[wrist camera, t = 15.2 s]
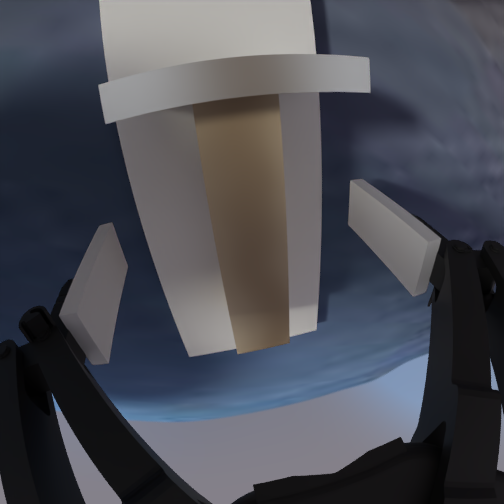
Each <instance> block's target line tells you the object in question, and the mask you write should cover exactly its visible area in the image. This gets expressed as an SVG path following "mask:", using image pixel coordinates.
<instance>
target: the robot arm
mask: <svg viewBox="0 0 504 504" xmlns="http://www.w3.org/2000/svg"><path fill="white" fill-rule="evenodd" d="M348 225H349V226H350V227H351V228H352V229H353V230H354V231H355V232H356V234H357V235H358V236H359V237H360V238H361V239H362V240H363V241H364V242H365V243H366V244H367V245H368V246H369V247H370V248H371V250H372V251H373V252H374V253H375V254H376V255H377V256H378V257H379V258H380V259H381V261H382V262H383V263H384V264H385V265H386V266H387V267H388V268H389V269H390V271H391V272H392V273H393V274H394V275H395V276H396V277H397V279H398V280H399V281H400V282H401V283H402V284H403V286H404V287H405V288H406V289H407V290H408V291H409V293H410V294H411V295H412V296H413V297H414V296H417V295H420V294H423V293H425V292H426V290H427V287H428V284H429V281H430V282H431V283H432V284H433V285H434V289H433V292H432V294H431V297H430V300H429V303H428V306H429V307H430V304H431V303H432V314H431V333H430V346H429V357H428V366H427V375H426V382H425V389H424V396H423V402H422V407H421V413H420V418H419V423H418V426H417V429H416V431H415V433H414V435H413V437H412V439H411V442H410V443H403V440H402V438H401V437H399V438H397V439H395V440H393V441H391V442H388V443H386V444H384V445H382V446H379V447H377V448H375V449H372V450H370V451H368V452H367V453H365V454H364V455H362V456H361V457H359V458H358V459H356V460H355V461H353V462H352V463H351V464H349V465H347V466H346V467H344V468H343V469H341V470H340V471H338V472H336V473H332V474H322V475H309V476H291V477H287V478H283V479H279V480H274V481H270V482H265V483H260V484H255V485H253V487H254V491H252V492H250V493H248V494H246V495H244V496H242V497H240V498H239V499H237V500H236V501H234V502H233V503H232V504H504V472H502V471H499V470H497V462H498V454H499V444H500V431H501V430H500V429H501V403H502V408H503V414H504V247H503V246H502V245H500V243H498V242H496V241H485V242H484V244H483V247H482V250H472V248H471V247H470V246H469V245H468V244H466V243H464V242H462V241H459V240H451V241H448V240H447V239H446V238H445V237H444V236H442V235H441V234H440V233H439V232H437V231H436V230H435V229H433V228H432V227H431V226H430V225H429V224H427V223H426V222H425V221H424V220H422V219H421V218H419V217H417V216H415V215H413V214H410V213H409V212H407V211H406V210H405V209H403V208H402V207H401V206H400V205H398V204H397V203H395V202H394V201H393V200H391V199H390V198H389V197H387V196H386V195H385V194H383V193H382V192H380V191H379V190H377V189H376V188H375V187H373V186H372V185H370V184H369V183H367V182H366V181H365V180H363V179H356V180H350V197H349V216H348ZM127 269H128V265H127V262H126V259H125V257H124V254H123V251H122V249H121V246H120V243H119V240H118V237H117V234H116V232H115V229H114V226H113V223H112V222H111V223H107V224H103V225H99V227H98V229H97V231H96V233H95V235H94V237H93V239H92V241H91V243H90V245H89V247H88V249H87V251H86V253H85V255H84V257H83V259H82V262H81V264H80V266H79V268H78V270H77V273H76V275H75V277H74V279H70V280H68V281H67V282H66V283H65V285H64V286H63V287H62V289H61V291H60V293H59V295H58V296H59V297H58V298H57V300H56V304H55V305H54V307H53V310H52V312H51V315H50V314H49V313H48V311H47V310H46V308H45V307H44V306H36V307H33V308H31V309H29V310H28V311H27V312H26V313H25V314H24V315H23V316H22V318H21V319H20V322H19V329H20V330H21V332H22V333H23V334H24V336H25V337H26V338H27V340H28V341H29V342H30V343H28V344H25V345H23V346H21V347H18V346H17V344H16V343H15V342H14V341H13V340H6V341H4V342H2V343H0V475H1V480H2V485H3V489H4V494H5V497H6V501H7V504H85V501H84V499H83V497H82V494H81V492H80V489H79V487H78V484H77V481H76V479H75V476H74V473H73V470H72V467H71V464H70V462H69V458H68V455H67V452H66V449H65V445H64V442H63V439H62V435H61V432H60V427H59V424H58V419H57V415H56V411H55V406H54V402H53V397H52V394H53V396H54V398H55V400H56V402H57V404H58V406H59V407H60V409H61V411H62V413H63V415H64V416H65V418H66V420H67V422H68V423H69V425H70V427H71V429H72V430H73V432H74V434H75V435H76V437H77V439H78V440H79V442H80V443H81V445H82V447H83V448H84V450H85V451H86V453H87V454H88V456H89V457H90V459H91V460H92V462H93V463H94V464H95V466H96V467H97V469H98V470H99V471H100V473H101V474H102V475H103V477H104V478H105V480H106V481H107V482H108V484H109V485H110V486H111V487H112V488H113V490H114V491H115V492H116V494H117V495H118V496H119V498H120V499H121V501H122V504H212V503H211V502H209V501H208V500H207V499H206V498H204V497H203V496H202V495H200V494H199V493H198V492H196V491H195V490H194V489H193V488H192V487H191V486H189V485H188V484H187V483H186V482H185V481H184V480H183V479H182V478H180V477H179V476H178V475H177V474H176V473H175V472H174V471H173V470H172V469H171V468H170V467H169V466H168V465H167V464H166V463H165V462H164V461H163V460H162V459H161V458H160V457H159V456H158V455H157V454H156V453H155V452H154V451H153V450H152V449H151V447H150V446H149V445H148V444H147V443H146V442H145V441H144V440H143V439H142V438H141V437H140V435H139V434H138V433H137V432H136V431H135V430H134V429H133V427H132V426H131V425H130V424H129V423H128V422H127V420H126V419H125V418H124V417H123V416H122V414H121V413H120V412H119V411H118V409H117V408H116V407H115V406H114V404H113V403H112V402H111V400H110V399H109V398H108V396H107V395H106V394H105V392H104V391H103V390H102V388H101V387H100V386H99V384H98V383H97V382H96V380H95V379H94V377H93V376H92V374H91V373H90V372H89V370H88V369H87V367H86V366H85V365H84V363H85V358H86V357H87V358H88V360H89V361H90V362H91V364H92V365H100V364H109V360H110V353H111V347H112V341H113V335H114V330H115V324H116V319H117V314H118V309H119V304H120V299H121V295H122V290H123V286H124V282H125V277H126V273H127ZM495 283H496V293H494V291H493V288H494V286H495ZM490 359H491V362H492V366H493V369H494V373H495V377H496V381H497V385H498V389H499V391H498V390H492V388H491V368H490Z"/></svg>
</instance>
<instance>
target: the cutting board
mask: <svg viewBox="0 0 504 504" xmlns="http://www.w3.org/2000/svg"><path fill="white" fill-rule="evenodd" d="M99 3H100V16H101V27H102V36H103V45H104V53H105V61H106V68H107V74H108V81H109V82H110V81H113V80H117V79H120V78H124V77H127V76H131V75H135V74H139V73H143V72H147V71H152V70H156V69H161V68H165V67H170V66H176V65H181V64H187V63H193V62H199V61H206V60H214V59H222V58H231V57H241V56H254V55H273V54H316V47H315V37H314V27H313V18H312V10H311V2H310V0H99ZM279 105H280V118H281V132H282V147H283V163H284V180H285V199H286V221H287V246H288V279H289V336H290V337H291V336H295V335H299V334H303V333H307V332H311V331H315V330H316V328H317V315H318V299H319V282H320V259H321V225H322V157H321V123H320V102H319V92H300V93H281V94H279ZM116 124H117V129H118V134H119V138H120V143H121V147H122V152H123V156H124V160H125V164H126V168H127V172H128V176H129V180H130V184H131V188H132V192H133V195H134V199H135V203H136V206H137V210H138V213H139V217H140V220H141V224H142V227H143V230H144V233H145V237H146V240H147V243H148V246H149V249H150V252H151V256H152V259H153V262H154V265H155V268H156V271H157V273H158V276H159V279H160V282H161V285H162V288H163V291H164V293H165V296H166V299H167V302H168V304H169V307H170V310H171V312H172V315H173V318H174V320H175V323H176V325H177V328H178V330H179V333H180V335H181V338H182V340H183V343H184V345H185V348H186V350H187V352H188V355H189V357H193V356H199V355H205V354H210V353H216V352H221V351H227V350H232V349H236V344H235V340H234V335H233V330H232V325H231V321H230V316H229V311H228V306H227V301H226V296H225V292H224V287H223V281H222V276H221V271H220V266H219V261H218V256H217V250H216V245H215V240H214V234H213V229H212V223H211V218H210V212H209V206H208V201H207V195H206V189H205V183H204V177H203V171H202V165H201V159H200V153H199V146H198V140H197V133H196V127H195V120H194V113H193V106H192V104H190V105H184V106H179V107H174V108H169V109H164V110H159V111H155V112H150V113H146V114H142V115H138V116H134V117H130V118H126V119H122V120H119V121H116Z"/></svg>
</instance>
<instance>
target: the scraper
mask: <svg viewBox="0 0 504 504" xmlns="http://www.w3.org/2000/svg"><path fill="white" fill-rule="evenodd" d="M98 86H99V92H100V98H101V104H102V109H103V114H104V119H105V124H108V123H112V122H115V121H119V120H122V119H126V118H130V117H134V116H138V115H142V114H146V113H150V112H155V111H159V110H164V109H169V108H174V107H179V106H184V105H190V104H192V106H193V113H194V120H195V127H196V133H197V140H198V146H199V153H200V159H201V165H202V171H203V177H204V183H205V189H206V195H207V201H208V206H209V212H210V218H211V223H212V229H213V234H214V240H215V245H216V250H217V256H218V261H219V266H220V271H221V276H222V281H223V287H224V292H225V296H226V301H227V306H228V311H229V316H230V321H231V325H232V330H233V335H234V340H235V344H236V349H237V353H238V354H242V353H247V352H251V351H256V350H261V349H265V348H270V347H274V346H279V345H283V344H287V343H290V336H289V279H288V246H287V221H286V199H285V180H284V163H283V147H282V132H281V118H280V105H279V94H281V93H300V92H363V93H370V66H369V58H366V57H356V56H343V55H324V54H273V55H254V56H241V57H231V58H222V59H214V60H206V61H199V62H193V63H187V64H181V65H176V66H170V67H165V68H161V69H156V70H152V71H147V72H143V73H139V74H135V75H131V76H127V77H124V78H120V79H117V80H113V81H110V82H106V83H103V84H100V85H98Z"/></svg>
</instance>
